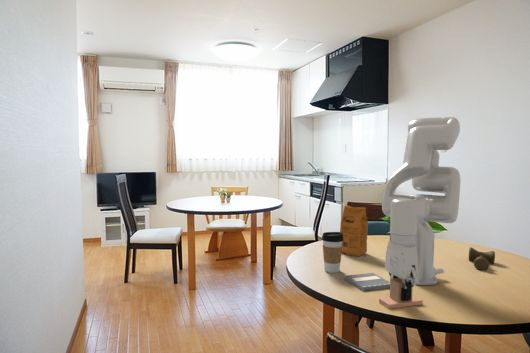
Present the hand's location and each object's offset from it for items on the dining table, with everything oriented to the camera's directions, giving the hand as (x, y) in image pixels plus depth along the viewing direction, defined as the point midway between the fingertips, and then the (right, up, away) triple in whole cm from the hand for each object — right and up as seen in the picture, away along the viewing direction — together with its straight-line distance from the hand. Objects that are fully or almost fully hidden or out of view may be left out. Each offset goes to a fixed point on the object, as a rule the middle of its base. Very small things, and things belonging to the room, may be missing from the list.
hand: (400, 296), depth 109 cm
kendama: (+50, 0, +40) cm, 64 cm away
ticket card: (-5, -1, +17) cm, 18 cm away
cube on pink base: (0, -2, 0) cm, 2 cm away
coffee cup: (-15, 0, +31) cm, 35 cm away
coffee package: (-1, +1, +56) cm, 56 cm away
